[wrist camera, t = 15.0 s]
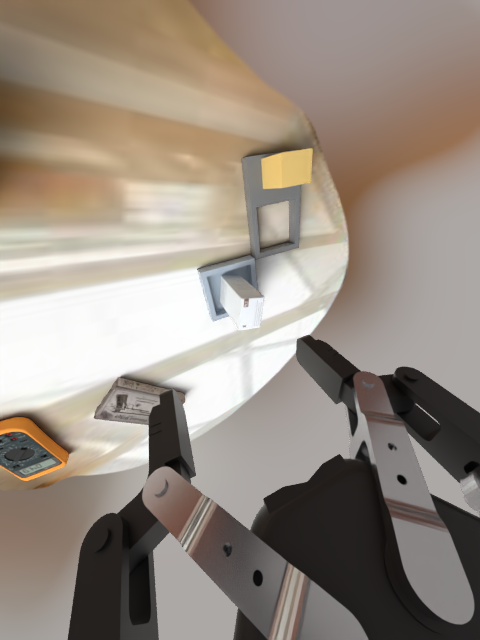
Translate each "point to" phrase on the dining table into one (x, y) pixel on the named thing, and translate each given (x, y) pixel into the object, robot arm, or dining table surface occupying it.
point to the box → (130, 402)
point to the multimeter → (28, 449)
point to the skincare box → (241, 302)
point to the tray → (212, 281)
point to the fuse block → (275, 191)
